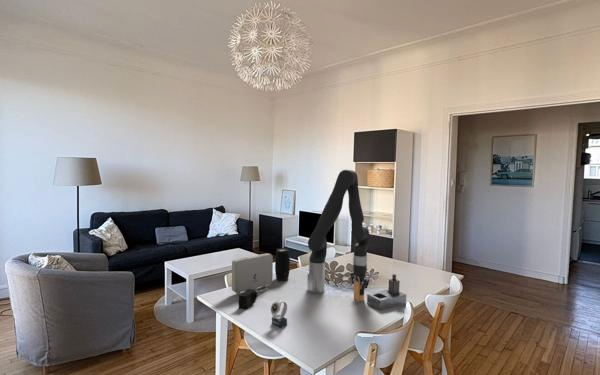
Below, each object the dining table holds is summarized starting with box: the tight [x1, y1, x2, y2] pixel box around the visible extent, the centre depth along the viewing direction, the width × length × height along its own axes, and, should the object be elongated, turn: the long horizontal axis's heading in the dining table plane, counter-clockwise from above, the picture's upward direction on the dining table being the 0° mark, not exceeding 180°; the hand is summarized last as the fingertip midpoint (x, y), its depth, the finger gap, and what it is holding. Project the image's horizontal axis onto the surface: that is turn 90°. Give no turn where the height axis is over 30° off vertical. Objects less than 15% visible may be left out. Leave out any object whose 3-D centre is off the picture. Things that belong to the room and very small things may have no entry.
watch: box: [270, 299, 288, 329], centre depth 151 cm, size 6×8×11 cm
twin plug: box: [387, 273, 400, 295], centre depth 179 cm, size 4×4×13 cm
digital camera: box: [238, 289, 258, 310], centre depth 171 cm, size 10×5×7 cm, turn 161°
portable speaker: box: [274, 247, 291, 282], centre depth 212 cm, size 9×9×20 cm
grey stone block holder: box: [366, 289, 407, 311], centre depth 177 cm, size 19×10×5 cm, turn 119°
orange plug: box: [353, 280, 365, 302], centre depth 182 cm, size 4×4×13 cm
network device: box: [231, 253, 274, 296], centre depth 192 cm, size 26×9×20 cm, turn 131°
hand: (359, 293), depth 182 cm, fingers closed on orange plug, 4 cm apart
